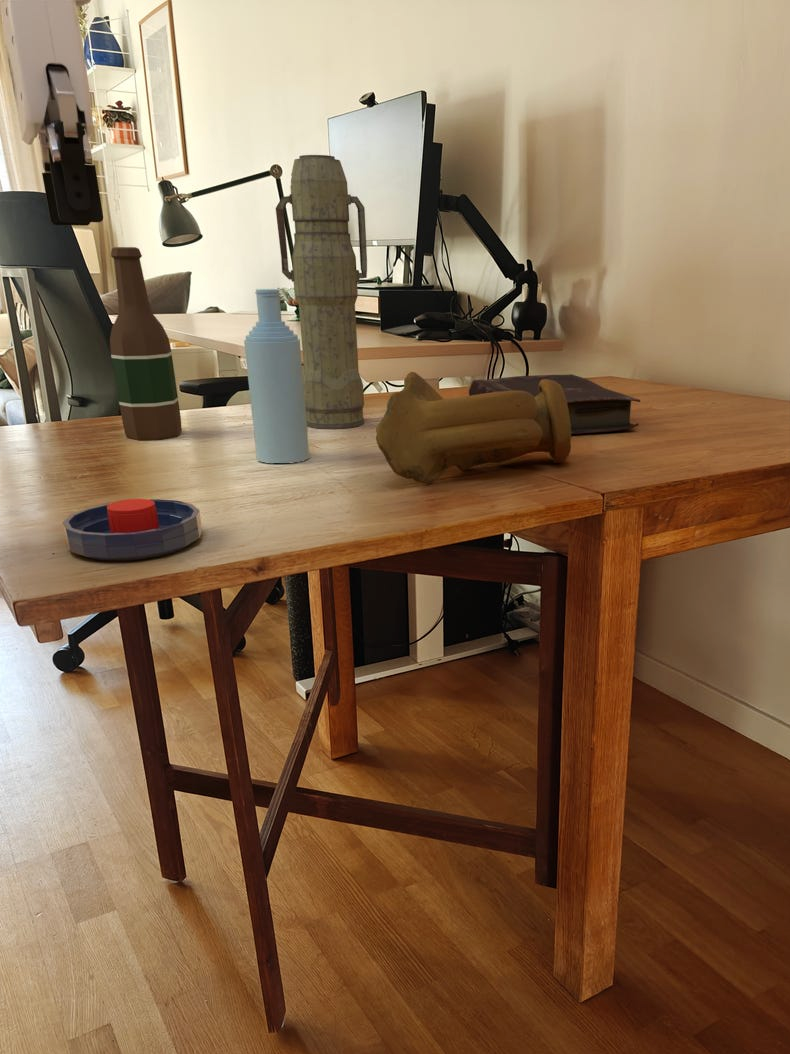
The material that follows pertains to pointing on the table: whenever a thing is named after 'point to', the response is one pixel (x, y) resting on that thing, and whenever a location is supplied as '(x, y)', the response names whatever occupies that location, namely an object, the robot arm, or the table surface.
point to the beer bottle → (141, 357)
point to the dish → (132, 533)
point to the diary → (572, 400)
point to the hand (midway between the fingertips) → (76, 223)
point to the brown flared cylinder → (470, 428)
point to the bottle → (276, 385)
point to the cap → (132, 516)
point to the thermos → (325, 289)
